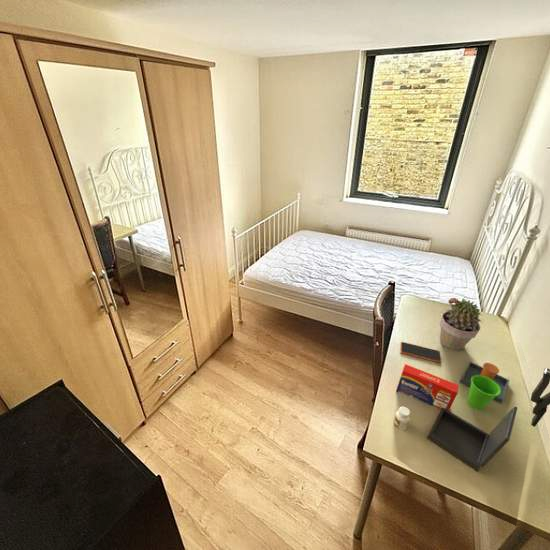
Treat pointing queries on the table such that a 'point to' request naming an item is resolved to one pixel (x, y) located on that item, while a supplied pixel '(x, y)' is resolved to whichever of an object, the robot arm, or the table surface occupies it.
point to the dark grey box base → (459, 438)
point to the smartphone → (420, 352)
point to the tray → (500, 380)
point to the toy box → (427, 387)
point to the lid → (499, 436)
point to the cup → (482, 391)
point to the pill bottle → (402, 418)
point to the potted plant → (459, 324)
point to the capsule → (489, 370)
